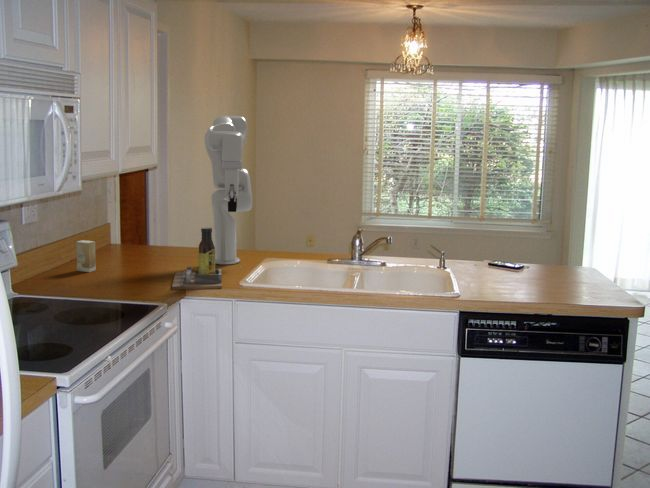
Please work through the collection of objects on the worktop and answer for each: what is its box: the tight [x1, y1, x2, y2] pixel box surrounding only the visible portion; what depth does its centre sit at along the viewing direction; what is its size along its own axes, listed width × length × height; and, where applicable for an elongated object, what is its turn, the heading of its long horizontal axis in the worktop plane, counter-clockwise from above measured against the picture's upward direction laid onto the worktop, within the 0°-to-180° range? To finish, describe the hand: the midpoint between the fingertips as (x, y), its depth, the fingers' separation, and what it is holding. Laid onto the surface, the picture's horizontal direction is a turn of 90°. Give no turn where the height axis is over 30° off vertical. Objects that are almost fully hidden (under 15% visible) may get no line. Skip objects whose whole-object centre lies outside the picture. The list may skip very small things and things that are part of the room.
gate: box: [186, 265, 192, 283], centre depth 259 cm, size 10×2×4 cm, turn 9°
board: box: [171, 268, 223, 290], centre depth 262 cm, size 24×18×4 cm
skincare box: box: [75, 239, 97, 273], centre depth 276 cm, size 6×4×12 cm
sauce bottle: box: [198, 226, 216, 275], centre depth 259 cm, size 6×6×20 cm
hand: (232, 209), depth 265 cm, fingers open, 9 cm apart
